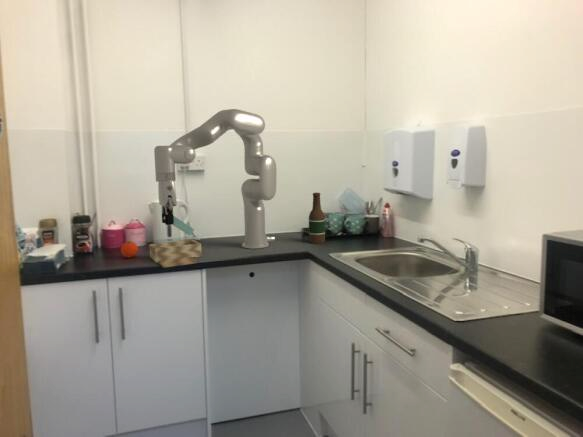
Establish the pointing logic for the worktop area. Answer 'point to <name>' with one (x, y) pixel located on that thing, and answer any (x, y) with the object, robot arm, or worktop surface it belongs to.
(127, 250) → the clementine
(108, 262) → the worktop surface
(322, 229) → the beer bottle
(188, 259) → the cork trivet
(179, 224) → the teal block
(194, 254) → the woven basket
